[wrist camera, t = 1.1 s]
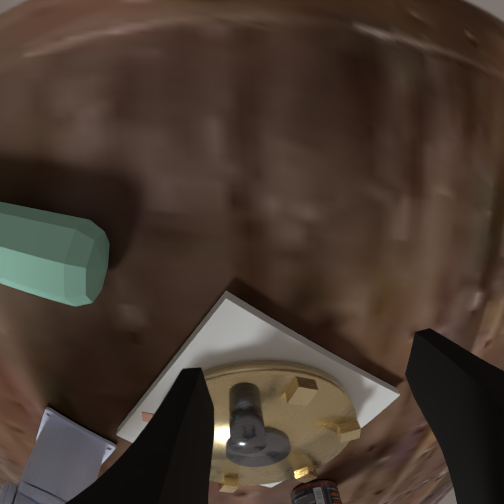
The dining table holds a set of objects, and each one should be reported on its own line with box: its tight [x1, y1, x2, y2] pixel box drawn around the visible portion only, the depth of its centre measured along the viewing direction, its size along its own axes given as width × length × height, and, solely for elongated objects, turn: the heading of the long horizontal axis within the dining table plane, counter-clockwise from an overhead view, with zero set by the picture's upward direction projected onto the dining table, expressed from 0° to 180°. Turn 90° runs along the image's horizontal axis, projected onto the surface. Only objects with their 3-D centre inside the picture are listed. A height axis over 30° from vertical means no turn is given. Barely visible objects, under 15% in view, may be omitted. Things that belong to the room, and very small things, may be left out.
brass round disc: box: [163, 360, 361, 493], centre depth 19 cm, size 16×16×6 cm
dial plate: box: [116, 291, 400, 487], centre depth 23 cm, size 18×18×1 cm
